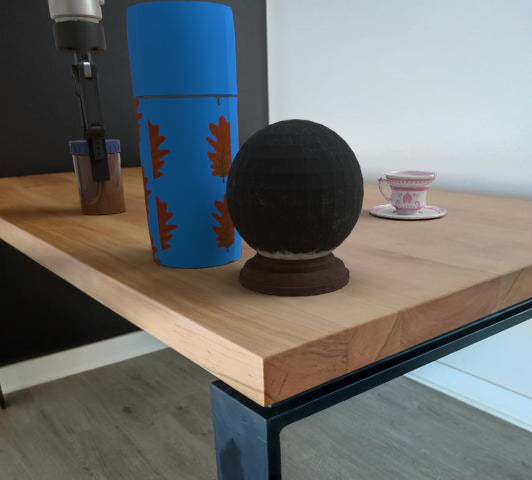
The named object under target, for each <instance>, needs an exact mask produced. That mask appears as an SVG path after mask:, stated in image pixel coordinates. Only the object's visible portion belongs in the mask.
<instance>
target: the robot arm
mask: <svg viewBox="0 0 532 480" xmlns="http://www.w3.org/2000/svg"><path fill="white" fill-rule="evenodd" d="M47 3H48V9H49V10H48V11H49V16H50V18H51V20H53V21H55V22H54V23H53V25H52V33H53V38H54V45H55V49H56V50H57V51H58V52H60V53H64V54H73V59H74V64H70V66H69V67H70V74H71V78H72V79H73V83H74V91H75V94H76V96H77V99H78V106H79V107H78V108H79V114H80V120H81V130H82V138H83V140H87V143H88V149H89V156H90V163H91V170H92V177H93V182H94V181H111V180H110V173H109V165H108V158H107V150H106V143H105V139H106V138H105V135H106V127H105V123H104V117H103V109H102V101H101V97H100V96H101V95H100V92H101V87H100V81H99V76H100V74H99V73H100V72H99V71H100V70H99V66H98V64H96V62H95V61H93V58H92V54H102V53H104V52H105V51H106V50H107V43H106V36H105V27H104V26H103V24H101V23H99V22H101V21H102V20H103V14H102V7H101V6H104V5H105V0H47Z"/></svg>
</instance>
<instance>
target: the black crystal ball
mask: <svg viewBox="0 0 532 480" xmlns="http://www.w3.org/2000/svg"><path fill="white" fill-rule="evenodd" d="M364 195H365V189H364V177H363V173H362V167H361V165H360V162H359V160H358V158H357V155H356V154H355V152H354V151H353V149H352V148H351V146H350V145H349V143H348V142H347V141H346V140H345V139H344V138H343V137H342V136H341V135H340V134H338V132H337V131H335V130H333V129H331V128H330V127H328V126H326V125H324V124H323V123H319V122H316V121H314V120H313V121H312V120H309V119H302V118H301V119H300V118H292V119H283V120H279V121H276V122H273V123H269V124H267V125H266V126H264V127H262V128H260V129H259V130H257V131H255V132H254V133H253V134H252V135H251V136H250V137H249V138H248V139H246V140H245V141H244V143H243V144H242V145H241V147H239V151H238V152H237V154H236V156H235V158H234V160H233V162H232V164H231V167H230V170H229V174H228V178H227V183H226V201H227V208H228V212H229V215H230V218H231V221H232V223H233V225H234V227H235V229H236V230H237V232H238V234H239V235H240V236H241V237H242V240H243V241H244V243H246V244H247V245H248V247H249V248H251V249H252V250H254V251H255V252H256V253H255V254H254V255H253V256H252V257H250V258H249V259H247V260H246V261H245V262H244V264H243V267H242V268H241V269H240V270H239V274H238V275H239V283H240V285H241V286H243V287H244V288H245V289H248V290H250V291H254V292H257V293H260V294H266V295H270V296H281V297H282V296H283V297H284V296H285V297H306V296H317V295H322V294H327V293H331V292H336V291H338V290H341V289H342V288H344V287H346V286H347V285H348V284H349V283H350V269H349V268H348V267H346V263H345V262H344V261H343V259H341V258H339V257H338V256H336V255H335V254H334V253H333V251H334V250H336V249H338V247H340V246H341V245H342V244H343V243H344V242H345V241H346V240H347V239H348V237H349V236H350V235H351V233H352V232H353V230H354V228H355V226H356V225H357V223H358V221H359V218H360V215H361V213H362V210H363V203H364V197H365V196H364Z"/></svg>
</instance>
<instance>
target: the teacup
mask: <svg viewBox="0 0 532 480" xmlns="http://www.w3.org/2000/svg"><path fill="white" fill-rule="evenodd" d="M382 174H383V176H384V177H385V178H382V177H380V178H377V181H378V189H379V192H380V194H381V195H382V196H383V198H384V199H385V200H386V201H388V202H390V203H389V204H387V203H386V204H379V205H375V206H372V207H370V208H369V213H370V214H371V215H373V216H377V217H382V218H388V219H396V220H425V219H426V220H427V219H434V218H439V217H443V216H445V215H446V214H447V210H446V209H445V208H442V207H440V206H436V205H429V204H426V203H427V193H428V191H429V189H430V188H431V184H432V183H433V182H434V181H435V180H436V179H437V177H438V176H439V175H440V173H439V172H436V171H430V170H429V171H428V170H393V171H385V172H383V173H382ZM383 183H387V184H388V185H389V188H390V190H391V195H390V196H389V197H388V196H387V195H386V194H385V192H384V190H383V187H382V184H383Z"/></svg>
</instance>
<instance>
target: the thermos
mask: <svg viewBox="0 0 532 480" xmlns="http://www.w3.org/2000/svg"><path fill="white" fill-rule="evenodd" d="M125 11H126V13H125V15H126V17H125V18H126V19H125V20H126V22H125V23H126V25H125V26H126V39H127V47H128V57H129V65H130V75H131V83H132V84H131V85H132V93H133V97H134V98H135V99H133V102H134V111H135V121H136V130H137V138H138V148H139V156H140V157H139V158H140V165H141V166H140V167H141V176H142V186H143V192H144V193H143V194H144V202H145V203H144V204H145V211H146V221H147V229H148V234H149V240H150V241H149V242H150V247H151V253H152V259H153V261H154V263H156V264H159V265H160V266H164V267H170V268H175V269H177V268H178V269H201V268H202V269H203V268H213V267H219V266H225V265H226V264H227V265H228V264H231V263H233V262H236V261H238V260H239V259H240V258H241V257H242V242H243V241H242V240H243V239H242V237H241V236H240V235H239V234H238V232H237V230H236V229H235V227H234V225H233V223H232V221H231V218H230V215H229V212H228V208H227V201H226V183H227V178H228V174H229V170H230V167H231V164H232V162H233V160H234V158H235V156H236V154H237V152H238V151H239V149H240V136H239V135H240V134H239V132H240V131H239V108H238V97H235V96H237V95H238V81H237V79H238V78H237V56H236V30H235V24H234V23H235V22H234V16H233V9H232V7H231V6H228V5H225V4H223V3H216V2H211V1H210V2H209V1H199V0H198V1H196V0H163V1H162V0H161V1H148V2H142V3H137V4H133V5H130V6H128V7H127V8H126V10H125ZM230 96H231V97H230ZM233 96H234V97H233Z"/></svg>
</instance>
